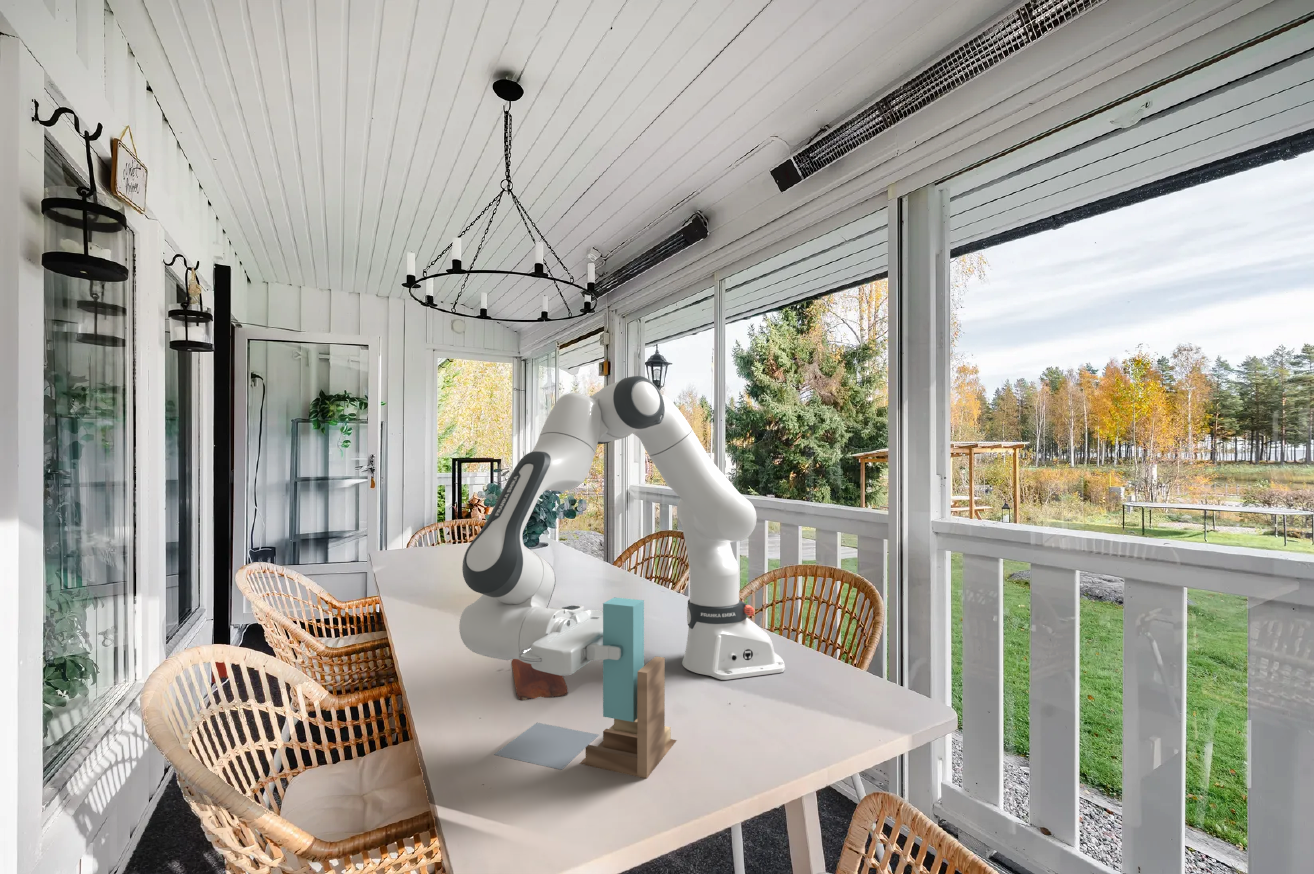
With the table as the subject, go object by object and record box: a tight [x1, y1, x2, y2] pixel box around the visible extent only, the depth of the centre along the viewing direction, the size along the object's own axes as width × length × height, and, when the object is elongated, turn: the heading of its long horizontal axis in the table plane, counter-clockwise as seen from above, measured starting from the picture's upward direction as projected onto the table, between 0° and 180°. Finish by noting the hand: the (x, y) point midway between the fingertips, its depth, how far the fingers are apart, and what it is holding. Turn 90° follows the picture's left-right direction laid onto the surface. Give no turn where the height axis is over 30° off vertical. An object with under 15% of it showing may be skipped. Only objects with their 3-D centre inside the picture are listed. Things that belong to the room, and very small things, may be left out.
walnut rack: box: [579, 656, 678, 779], centre depth 97 cm, size 12×11×16 cm
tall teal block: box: [602, 597, 645, 722], centre depth 95 cm, size 4×5×17 cm
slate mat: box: [493, 722, 600, 771], centre depth 99 cm, size 12×12×1 cm
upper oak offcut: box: [613, 718, 637, 734], centre depth 100 cm, size 4×7×2 cm, turn 68°
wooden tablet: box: [511, 659, 569, 701], centre depth 133 cm, size 27×10×2 cm, turn 16°
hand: (629, 647), depth 94 cm, fingers closed on tall teal block, 4 cm apart
